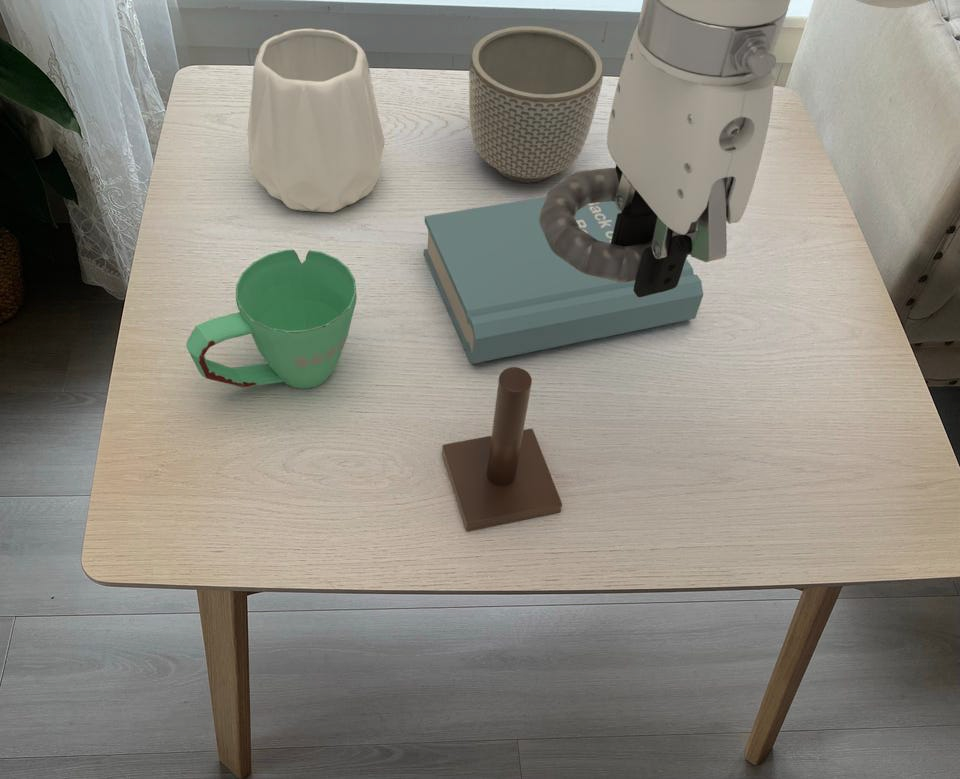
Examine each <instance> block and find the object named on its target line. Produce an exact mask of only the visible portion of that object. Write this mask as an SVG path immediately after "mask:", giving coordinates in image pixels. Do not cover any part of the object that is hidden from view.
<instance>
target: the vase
mask: <svg viewBox="0 0 960 779" xmlns="http://www.w3.org/2000/svg"><path fill="white" fill-rule="evenodd" d="M372 80H373V79H372V76H371V69H370V65H369V61H368V57H367V55H366V53H365V51H364V49H363V48H362V47H361V46H360V45H359V44H358V42H356V41H354V40H352V39H350V38H349V37H348V36H347V35H344V34H342V33H340V32H337V31H334V30H330V29H320V28H319V29H315V28H296V29H291V30H290V29H289V30H286V31H284V32H282V33H281V34H276V35H274V36H272V37H271V36H270V38H267V39H266V40H264V42H263V43H262V44H261V46H260V47H259V49H258V53H257V54H256V57H255V61H254V65H253V72H252V85H251V94H250V95H251V96H250V104H249V112H248V121H247V142H248V143H247V144H248V158H249V169H250V172H251V173H252V174H253V176H254V178H255V179H256V180H257V181H258V182H259V184H260V185H261V186H262V187H263V188H264V189H266V191H267V193H268V195H270V196H271V197H273V199H276V200H278V201H282V203H283V204H284V205H285V206H286V207H287V208H289V209H290V210H293V211H301V212H313V213H314V212H316V213H336V212H337V211H340V210H342V209H344V208H345V207H346V208H347V207H348V206H350V205H352V204H355V203H357V201H359V200H361V199H363V198H365V197H367V196H368V195H369V194H371V192H372V191H373V189H374V188H375V186H376V184H377V183H378V180H379V176H380V167H381V160H382V156H383V152H384V147H385V143H386V142H385V136H384V133H383V129H382V124H381V120H380V116H379V111H378V107H377V101H376V96H375V90H374V86H373V85H374V84H373V81H372Z"/></svg>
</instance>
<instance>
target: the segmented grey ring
mask: <svg viewBox="0 0 960 779" xmlns="http://www.w3.org/2000/svg"><path fill="white" fill-rule="evenodd" d="M618 186H619V181H618V176H617V173H616V170H615V167H605V168H597V169H596V168H595V169H586V170H579V171H577V172H575V173H573V174H571V175H570V176H567V177H566V178H565V179H563V180H561V181H560V182H557V183H556V184H554V185H553V186H552V187H551V188H550V189H549V191H548V192H547V194H546V196H545V197H546V199H545V202H544V205H543V207H542V210H541V213H540V216H539V222H540V226H541V228H542V231H543V233H544V235H545V237H546V240H547V242H548V244H549V246H550V248H551V250H552V251H553V252H554V253H555V254H556V255H557V256H559V257H560V258H562V259H563V260H564V261H566V262H567V263H569V264H570V265H571V266H573V267H574V268H576V269H577V270H578V271H580V272H582V273H584V274H587V275H591V276H595V277H600V278H604V279H608V280H612V281H616V282H631V281H635V280H636V277H637V273H638V269H639V265H640V262H641V258H642V254H643V251H644V249H645V248H647V247H650V246H652V241H653V240H652V241H650V242H649V243H647V244H640V245H632V246H620V245H615V244H611V243H607V242H603V241H598V240H597V239H595V238H594V237H592V236H591V235H589V234H588V233H586V232H585V231H583V230H582V229H580V228H579V226H578V224H577V222H576V219H575V215H576V212H577V211H578V210H579V209H581V208H583V207H584V206H586V205H588V204H590V203H599V202H608V201H612V202H615V197H616V193H617V190H618ZM675 235H680V234H678V233H676V232H674V231H673V234H672V236H675ZM689 256H690V255H689V254H687V257H686V259H687V258H688V257H689Z"/></svg>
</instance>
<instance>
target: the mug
mask: <svg viewBox="0 0 960 779" xmlns="http://www.w3.org/2000/svg"><path fill="white" fill-rule="evenodd" d="M356 284H357V283H356V279H355V276H354V275H353V273H352V271H351V270H350V268H349V267H348V265H345V264H344V263H343V262H342V261H340V260H339V259H338V258H336V257H334V256H332V255H330V254H327V253H325V252H323V251H318V250H311V249H309V250H308V252H307V253H306V256H305V260H304V261H303V262H302V261H301V260H300V258H299V255H298V253H297V252H296V251H295V250H294V249H284V250H280V251H276V252H272V253H269V254H267V255H264V256H262V257H261V258H259V259H257V260H255V261H253V262H252V263H251V264H250V265H249V266H248V267H247V268H246V269H245V270H243V272H242V273H241V275H240V277H239V278H238V281H237V283H236V285H235V302H236V303H235V304H236V306H237V309H238V312H235V313H231V314H227V315H223V316H219V317H215V318H212V319H209V320H207V321H205V322H202V323H199V324H197V325H195V326H194V327H193V330H192V331H191V333H190V335H189V336H188V338H187V340H186V345H185V346H186V349H187V351H188V353H189V355H190V356H191V359H192V361H193V363H194V366H196V369H197V371H198V373H199V374H200V375H201V377H203V378H205V379H207V380H211V381H215V382H218V383H223V384H226V385H229V386H234V387H238V388H249V387H255V386H256V387H257V386H263V385H269V384H278V383H284V384H285V385H287V386H288V387H291V388H293V389H300V390H309V389H313V388H317V387H319V386H321V385H322V384H324V383H325V382H326V381H328V379H329V378H330V376H331V374H332V373H333V371H334V369H335V368H336V365H337V364H338V361H339V360H340V357H341V354H342V353H343V349H344V347H345V344H346V341H347V338H348V336H349V331H350V327H351V324H352V319H353V315H354V311H355V307H356V304H357V297H358V296H357V285H356ZM248 335H251V337H252V339H253V341H254V343H255V345H256V347H257V350H258V352H259V353H260V355H261V356H262V358H263V359H264V361H265V362H266V363H258V364H251V365H243V366H235V367H230V366H227V365H224V364H221V363H218V362H215V361H213V360H210V359H207V358H206V354H207V352H208V350H209V349H210V348H212V347H214V346H215V345H217V344H220V343H222V342H224V341H227V340H230V339H234V338H240V337H243V336H248Z"/></svg>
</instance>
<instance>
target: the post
mask: <svg viewBox="0 0 960 779" xmlns="http://www.w3.org/2000/svg"><path fill="white" fill-rule="evenodd" d="M532 384H533V379H532V376H531V374H530V373H529V372H528V371H527V370H525V369H524V368H521V367H518V366H512V367H511V366H510V367H507V368H505V369H504V370H502V371H501V372H500V374H499V376H498V384H497V392H496V397H495V399H496V400H495V405H494V406H495V408H494V414H493V421H492V422H493V423H492V429H491V435H488V436H483V437H477V438H471V439H465V440H461V441H456V442H451V443H450V442H449V443H445V444H442V446H441V455H442V458H443V460H444V464H445V467H446V471H447V473H448V477H449V480H450V483H451V487H452V490H453V493H454V496H455V500H456V502H457V506H458V508H459V513H460V515H461V519H462V522H463V525H464V529H465V531H466V532H470V531H471V532H472V531H475V530H480V529H485V528H490V527H495V526H500V525H505V524H509V523H514V522H519V521H524V520H529V519H533V518H538V517H544V516H548V515H553V514H559V513H561V511H562V507H563V503H562V500H561V497H560V495H559V493H558V489H557V487H556V485H555V482H554V480H553V477H552V474H551V472H550V468H549V466H548V464H547V462H546V459H545V456H544V455H543V452H542V449H541V447H540V444H539V441H538V439H537V437H536V434H535V432H534V428H533V427H532V428H527V429H525V425H526V418H527V412H528V406H529V402H530V395H531V389H532Z"/></svg>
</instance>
